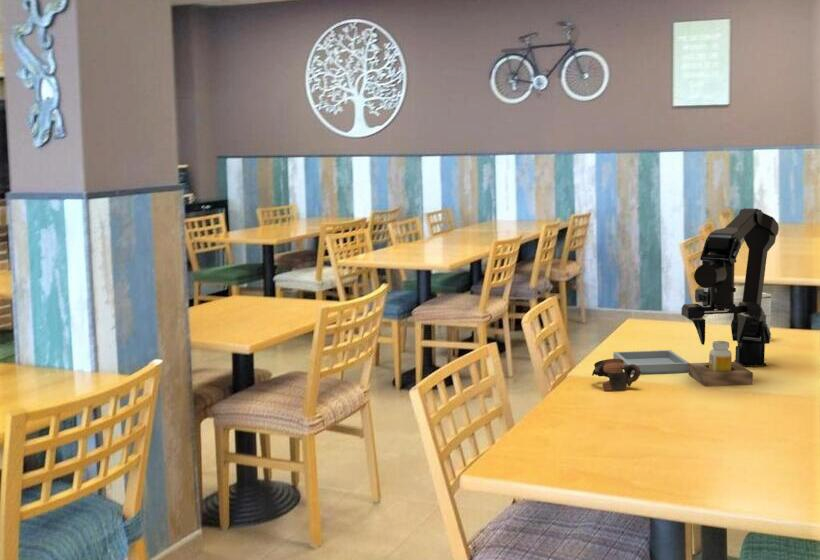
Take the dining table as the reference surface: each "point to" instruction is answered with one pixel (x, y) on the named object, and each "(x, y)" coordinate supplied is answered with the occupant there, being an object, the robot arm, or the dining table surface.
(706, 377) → the sleeve block
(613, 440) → the dining table surface
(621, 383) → the pottery mug
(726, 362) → the supplement bottle
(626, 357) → the tray
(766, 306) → the syrup box
